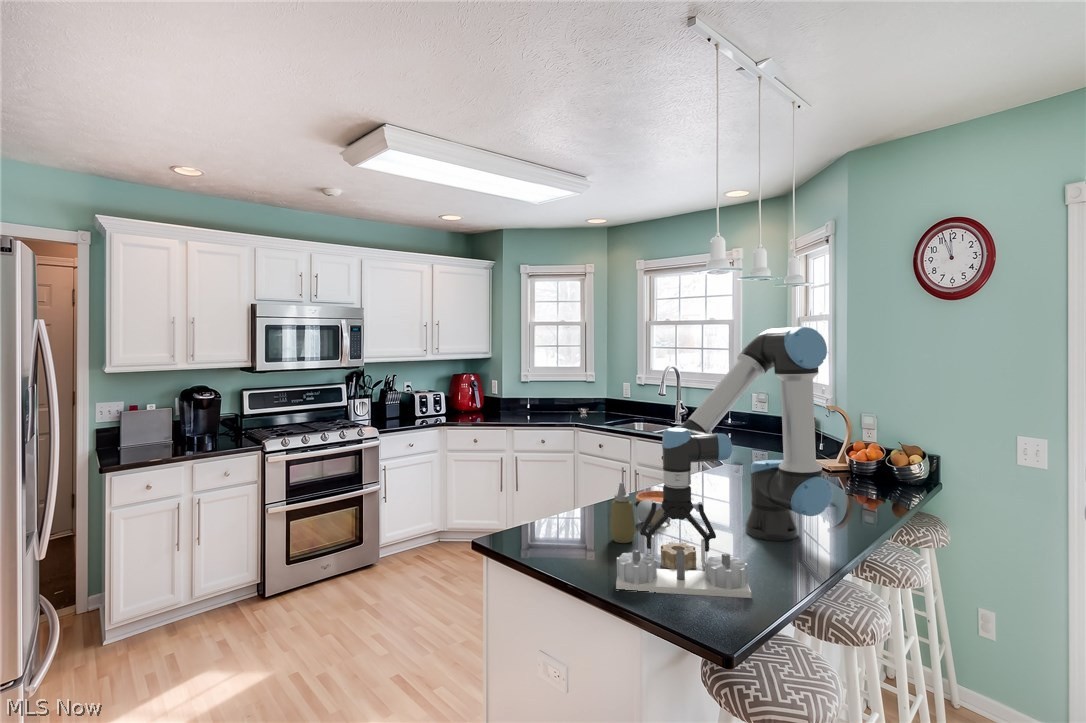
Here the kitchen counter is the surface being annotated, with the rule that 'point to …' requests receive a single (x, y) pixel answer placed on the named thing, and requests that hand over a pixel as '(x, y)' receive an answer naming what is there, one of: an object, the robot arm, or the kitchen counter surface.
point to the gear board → (685, 585)
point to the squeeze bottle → (622, 517)
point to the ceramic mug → (645, 508)
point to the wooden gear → (670, 555)
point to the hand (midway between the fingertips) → (677, 561)
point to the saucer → (650, 496)
